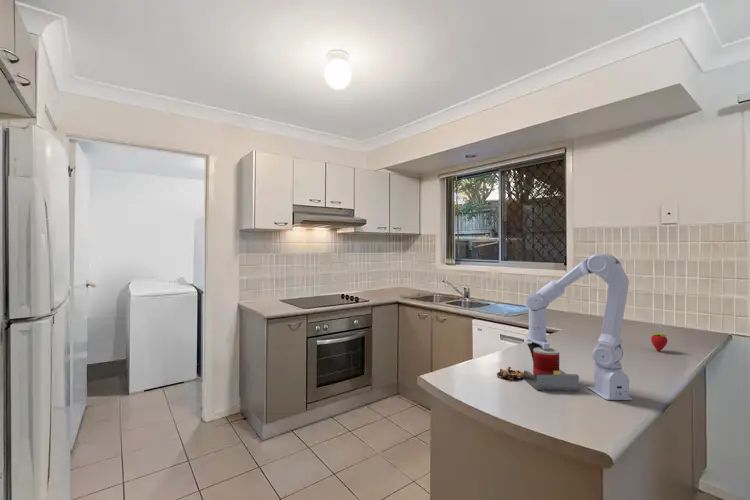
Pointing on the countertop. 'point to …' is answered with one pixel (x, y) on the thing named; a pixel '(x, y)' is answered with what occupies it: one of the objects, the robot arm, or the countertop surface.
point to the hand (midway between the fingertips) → (537, 364)
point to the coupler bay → (553, 381)
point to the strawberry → (659, 341)
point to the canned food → (545, 360)
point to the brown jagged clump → (510, 374)
